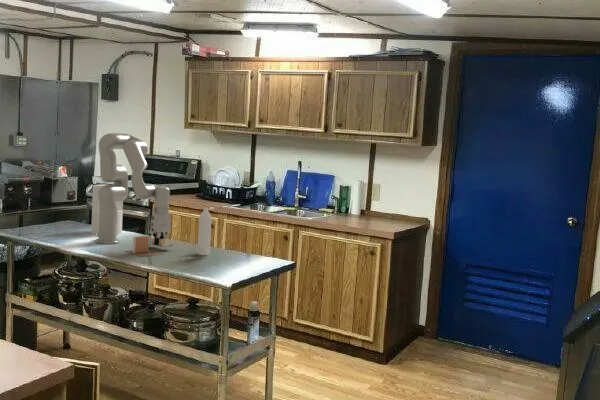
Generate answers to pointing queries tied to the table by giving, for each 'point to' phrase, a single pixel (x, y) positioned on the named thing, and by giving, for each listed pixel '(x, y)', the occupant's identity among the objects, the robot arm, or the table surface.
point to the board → (144, 253)
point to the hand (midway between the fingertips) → (158, 244)
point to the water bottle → (204, 232)
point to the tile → (140, 244)
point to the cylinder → (97, 208)
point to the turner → (160, 243)
